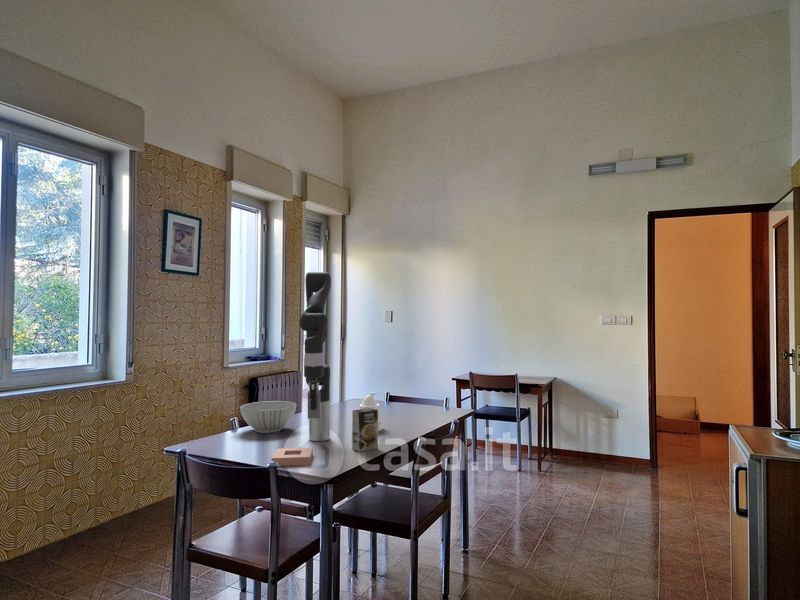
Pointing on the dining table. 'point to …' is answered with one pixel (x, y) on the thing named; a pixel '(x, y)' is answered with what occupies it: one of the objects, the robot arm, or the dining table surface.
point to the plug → (316, 412)
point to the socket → (293, 456)
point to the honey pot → (372, 407)
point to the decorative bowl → (268, 415)
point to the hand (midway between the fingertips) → (313, 408)
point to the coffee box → (364, 429)
